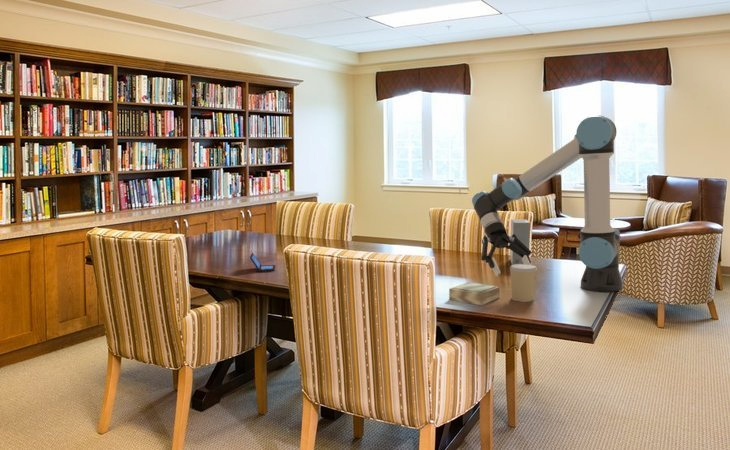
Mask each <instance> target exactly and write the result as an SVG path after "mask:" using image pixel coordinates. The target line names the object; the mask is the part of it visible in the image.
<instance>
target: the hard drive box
mask: <svg viewBox="0 0 730 450" xmlns="http://www.w3.org/2000/svg"><path fill="white" fill-rule="evenodd" d="M530 226H531V223H530V221H529V220H528V219H523V218H522V219H516V218H513V219H512V218H511V219H510V236H512V235H513V234H515V235H516V237H517V238H518V239H519V240H520V241H521V242H522V243H523V244H524V245H525V246H526V247H527V248H528V249H529V250H530V234H531V233H530V232H531V231H530V230H531V229H530ZM509 250H510V249H509ZM523 255H524V254H523ZM509 259H510V260H509V261H510V262H511V265H514V264H523V262H522V257H521V256H519V255H518V254H516V253H515V252H513V251H512V250H510V256H509Z"/></svg>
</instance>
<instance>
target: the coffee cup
mask: <svg viewBox="0 0 730 450" xmlns="http://www.w3.org/2000/svg"><path fill="white" fill-rule="evenodd" d="M530 264H531V263H530ZM530 264H514V265H512V264H511V265H510V267H509V270H510V272H509V273H510V274H509V275H510V290H511V299H512V300H513V301H515V302H523V303H525V302H528V303H529V302H533V301H534V300H535V295H536V294H535V293H536V283H537V281H536V279H537V271H538V269H537V266H536V265H534V264H531V265H530Z"/></svg>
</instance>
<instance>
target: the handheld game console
mask: <svg viewBox="0 0 730 450" xmlns="http://www.w3.org/2000/svg"><path fill="white" fill-rule="evenodd" d="M249 258H250V260H251V263H252V264H253V265H254V267H255V268H256V269H257V273H266V272H265V271H274V272H275V270H276V264H264V265H262V264H261V263H260V261H259V260H258V259H257V257H256V256H255V254H254V253H253V252H251V254H250V256H249Z"/></svg>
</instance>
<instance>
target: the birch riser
mask: <svg viewBox="0 0 730 450" xmlns="http://www.w3.org/2000/svg"><path fill="white" fill-rule="evenodd" d="M448 295H449V297H448V298H449V299H448V300H450V301H454V302H455V301H456V302H461V303H466V304H472V305H478V306H483V305H485V304H489V303H490V302H493V301H495V300H497V299H500V287H499V286H495V285H489V284H482V283H477V282H470V281H469V282H465V283H462V284H459V285H456V286H453V287H449V293H448Z"/></svg>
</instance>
